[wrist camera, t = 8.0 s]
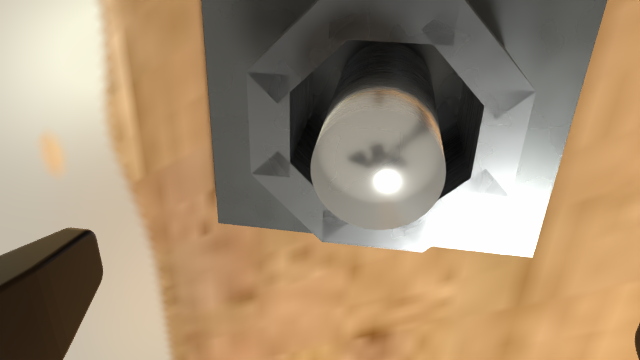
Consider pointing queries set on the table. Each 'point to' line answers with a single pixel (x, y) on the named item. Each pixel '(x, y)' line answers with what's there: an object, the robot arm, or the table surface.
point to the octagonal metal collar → (457, 140)
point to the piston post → (397, 118)
